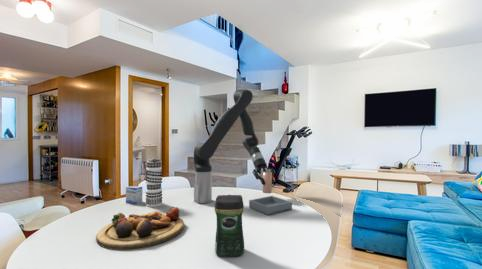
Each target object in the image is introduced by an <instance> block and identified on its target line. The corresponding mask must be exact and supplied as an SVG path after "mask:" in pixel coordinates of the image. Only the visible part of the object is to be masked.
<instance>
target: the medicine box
mask: <svg viewBox="0 0 482 269" xmlns="http://www.w3.org/2000/svg"><path fill="white" fill-rule="evenodd" d="M142 202H143V186H135V185H131V186H127V187H125V203H128V204H137V205H138V204H141V203H142Z"/></svg>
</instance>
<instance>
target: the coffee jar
mask: <svg viewBox="0 0 482 269" xmlns="http://www.w3.org/2000/svg"><path fill="white" fill-rule="evenodd" d="M244 207H245V206H244V200H243V196H242V194H222V195H217V196H216V198H215V203H214V213H215V215H216V231H215V243H214V252H215V255H217V256H218V257H224V258H225V257H227V258H228V257H230V258H231V257H239V256H242V255H243V254H244V252H245V239H244V231H243V230H244V229H243V213H244V211H245V210H244Z"/></svg>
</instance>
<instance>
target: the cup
mask: <svg viewBox="0 0 482 269" xmlns="http://www.w3.org/2000/svg"><path fill="white" fill-rule="evenodd" d="M263 179H264V181H265V185H263V184H262V193H263V194H272V191H273V190H272V188H273V187H272V185H273V184H272V172H269V171H264V172H263Z"/></svg>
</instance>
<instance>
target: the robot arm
mask: <svg viewBox="0 0 482 269" xmlns="http://www.w3.org/2000/svg"><path fill="white" fill-rule="evenodd" d="M232 97H233V101H234V105H233V106H230V108H229V109H227V110H225V111H224V112H223V113H222V114H221V115H220V116H219V117H218V119H217V120H216V122H215V123H214V126H213V128H212V130H211V131H212V132H211V134H210V135H209V136H208V137H207V139H206V140H205V142H202V143H197V144H196V145H195V147H194V150H193V165H194V170H195V171H194V172H195V174H194V175H195V178H194V179H195V181H194V182H195V184H193V202H195V203H197V204H207V203H211V202H212V195H213V194H212V191H213V190H212V188H213V187H212V179H213V178H212V175H213V174H212V169H213V168H212V165H211V164H210V159H211V158H212V157H213V156H214V154H215V152H216V150H217V148H218V147H219V145H220V144H221V142H222V140H223V139H224V138H225V136H227V134H228V133H229V131H230V130H231V129H232V127H233V126H234V124H235V123H236V121H237V120H238V119H239V118H240V122H241V127H242V132H243V135H244V136H248V137H246V138H243V139H242V146H243V147H244V149H245V150H246V151H247V152H248V154H249V156H250V158H251V162H252V164H253V166H254V168H253V170H252V174H253V176H254V177H255V179H256V180H259V181H260V183H261V185H262V186H263V185H265V181H264V179H263V172H264V171H269V172H272V185H274V183H275V180H274V177H275V173H274V168H269V167H268V164H267V162H266V160H265V158H264V156H263V154H262V152H261V149H260V148H259V147H258V145H259V139H258V137H257V135H256V133H255V130H254V125H253V124H254V123H253V120H252V118H251V116H250V115H249V113H248V111H247V108H248V106H249V105H250V104H251V103H252V101H253V97H254V95H253V92H252V91H251V90H249V89H236V90H235V91H234V93H233V95H232Z"/></svg>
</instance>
